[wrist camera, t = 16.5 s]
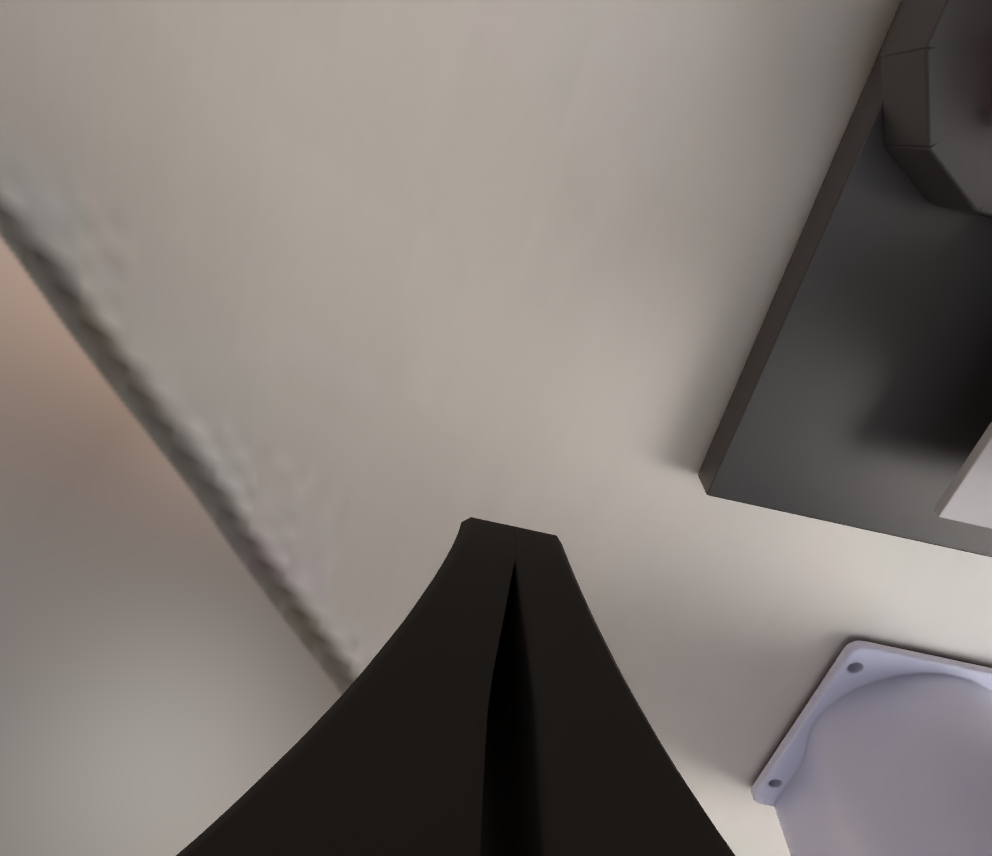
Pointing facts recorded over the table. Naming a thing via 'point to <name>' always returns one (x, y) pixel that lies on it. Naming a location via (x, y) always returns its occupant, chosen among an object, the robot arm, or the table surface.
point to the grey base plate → (882, 304)
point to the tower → (971, 488)
